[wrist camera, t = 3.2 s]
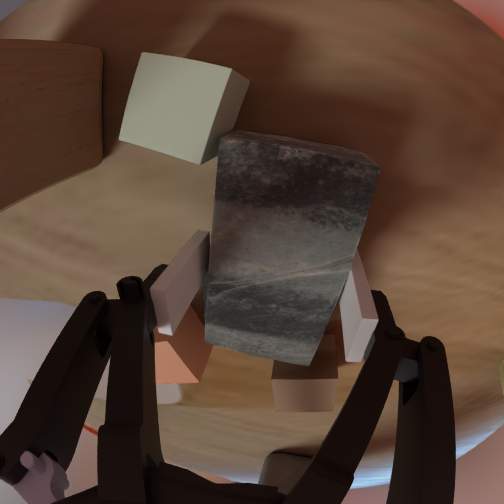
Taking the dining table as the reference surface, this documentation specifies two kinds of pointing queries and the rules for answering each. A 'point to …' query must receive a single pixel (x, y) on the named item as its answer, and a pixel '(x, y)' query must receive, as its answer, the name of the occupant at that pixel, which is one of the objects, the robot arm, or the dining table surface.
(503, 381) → the potted cactus
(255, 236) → the stone block
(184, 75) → the sage cube
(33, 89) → the wooden block
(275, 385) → the walnut cube
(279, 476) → the vase
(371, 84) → the dining table surface
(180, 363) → the terracotta cube
